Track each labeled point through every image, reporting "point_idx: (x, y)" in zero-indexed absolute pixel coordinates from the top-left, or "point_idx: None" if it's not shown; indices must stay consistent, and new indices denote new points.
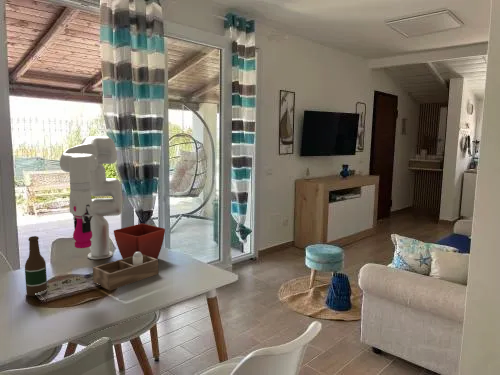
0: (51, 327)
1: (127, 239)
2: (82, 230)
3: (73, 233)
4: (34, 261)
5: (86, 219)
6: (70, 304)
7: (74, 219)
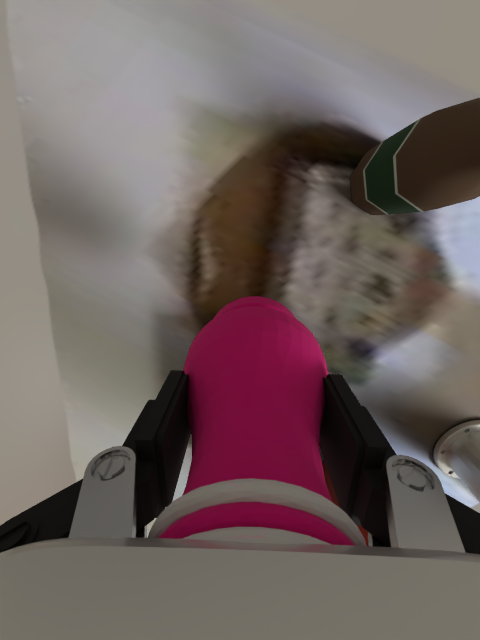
0: (104, 94)
1: (361, 532)
2: (176, 379)
3: (284, 328)
4: (443, 130)
5: (41, 518)
6: (213, 213)
7: (406, 466)
